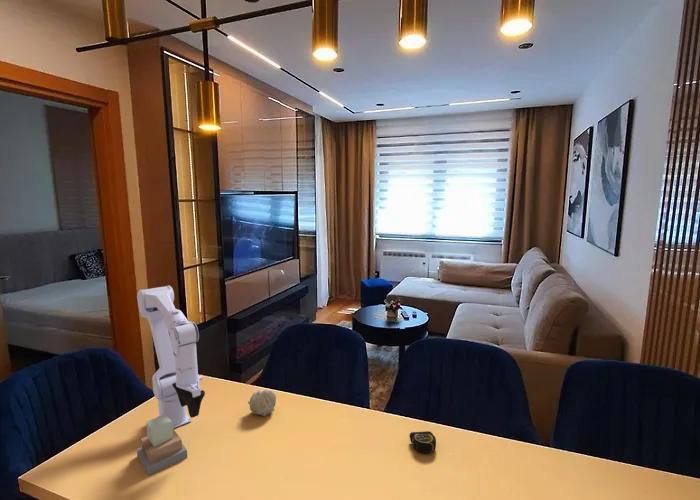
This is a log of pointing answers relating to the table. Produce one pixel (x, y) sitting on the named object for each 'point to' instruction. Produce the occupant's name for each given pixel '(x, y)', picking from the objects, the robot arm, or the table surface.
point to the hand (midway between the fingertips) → (189, 410)
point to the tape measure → (423, 441)
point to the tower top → (161, 447)
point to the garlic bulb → (262, 402)
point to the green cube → (159, 430)
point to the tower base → (160, 460)
